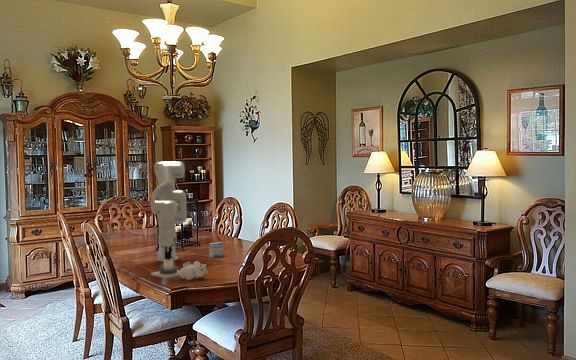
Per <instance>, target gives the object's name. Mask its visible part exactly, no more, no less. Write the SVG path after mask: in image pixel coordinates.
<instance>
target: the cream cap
mask: <svg viewBox="0 0 576 360" xmlns="http://www.w3.org/2000/svg"><path fill="white" fill-rule="evenodd" d="M173 267H174V261H173V259H164V261H163V268H164V270H165V271H168V270H173Z"/></svg>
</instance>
